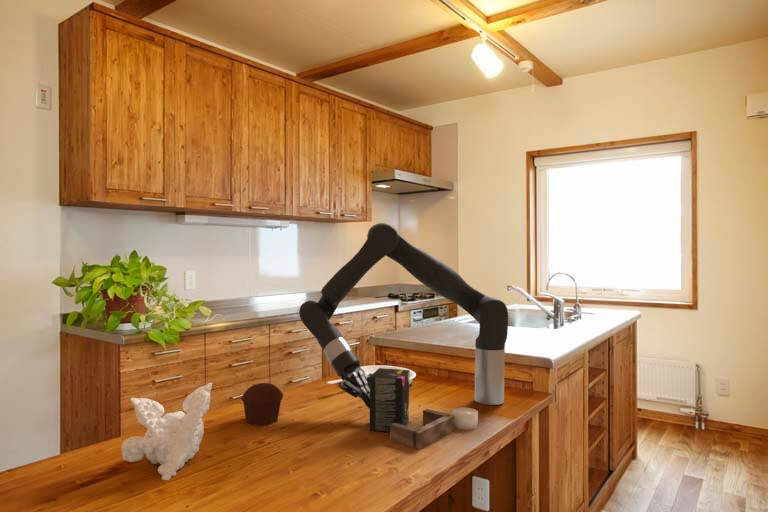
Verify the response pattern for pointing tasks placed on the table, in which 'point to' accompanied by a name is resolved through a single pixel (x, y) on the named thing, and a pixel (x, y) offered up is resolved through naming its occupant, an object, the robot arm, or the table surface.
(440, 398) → the table surface
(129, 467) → the table surface
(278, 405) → the muffin
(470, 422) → the rounded cream block
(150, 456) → the white animal figurine
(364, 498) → the table surface
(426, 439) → the frame
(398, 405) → the tampon box
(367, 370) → the pan
